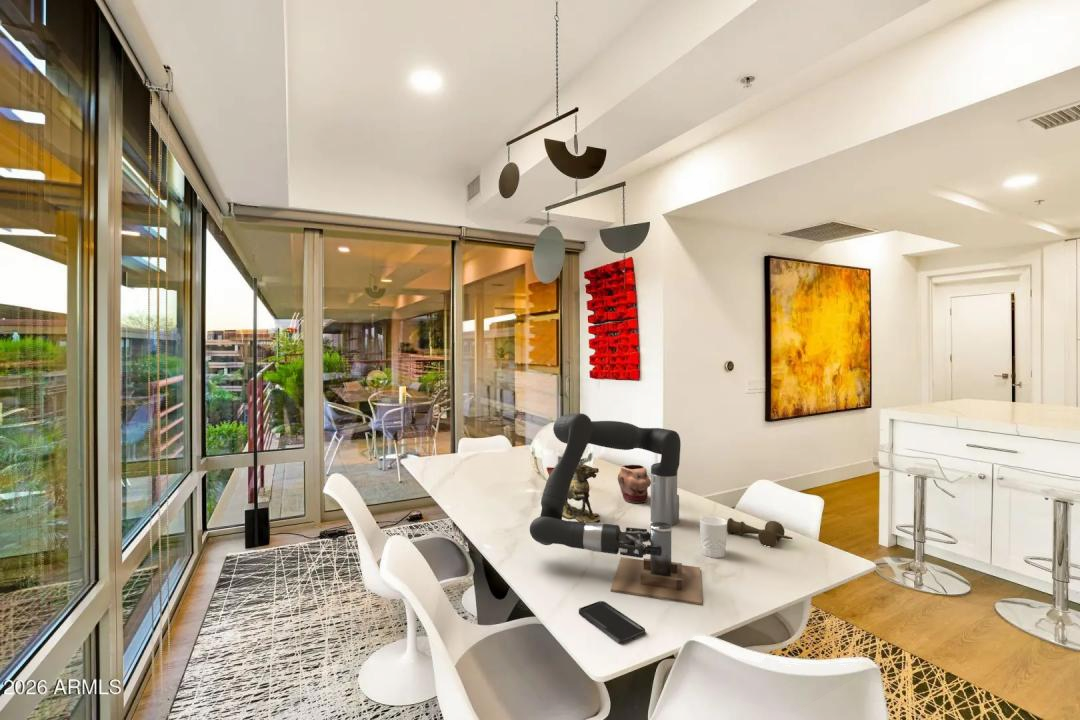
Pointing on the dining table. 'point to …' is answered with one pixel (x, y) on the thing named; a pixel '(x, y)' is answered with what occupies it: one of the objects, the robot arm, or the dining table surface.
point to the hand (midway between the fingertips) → (662, 544)
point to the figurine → (581, 496)
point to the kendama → (759, 531)
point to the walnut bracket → (658, 581)
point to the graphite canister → (662, 539)
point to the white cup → (713, 536)
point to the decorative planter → (634, 483)
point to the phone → (612, 622)
